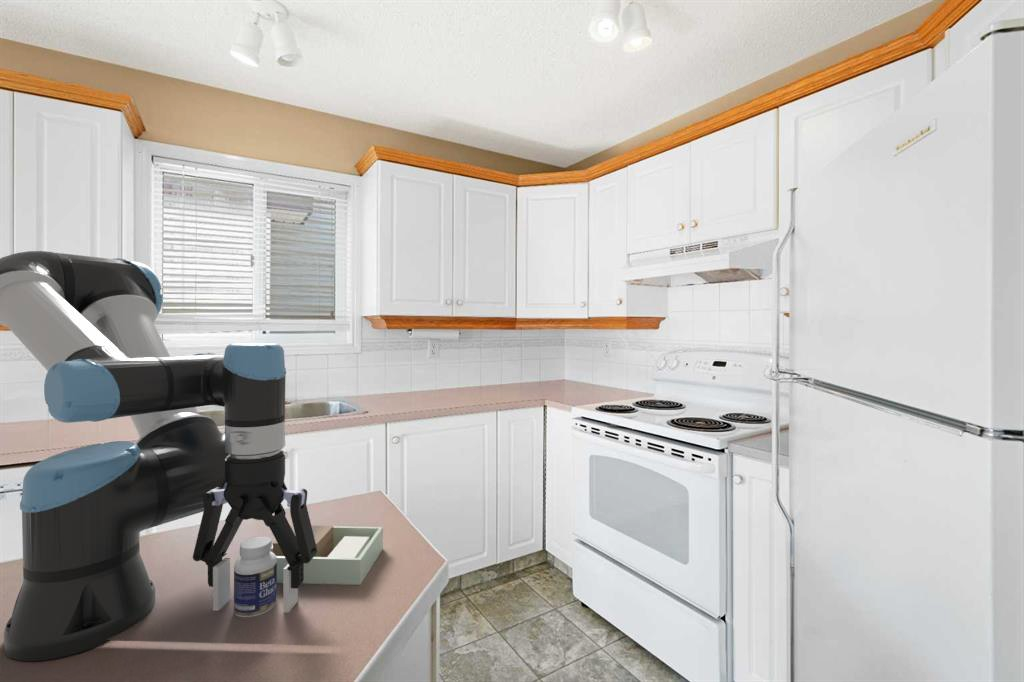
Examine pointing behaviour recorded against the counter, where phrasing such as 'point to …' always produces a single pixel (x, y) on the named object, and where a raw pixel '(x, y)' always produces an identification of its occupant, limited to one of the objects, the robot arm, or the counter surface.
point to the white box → (350, 547)
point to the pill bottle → (255, 578)
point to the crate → (340, 559)
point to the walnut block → (322, 541)
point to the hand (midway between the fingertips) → (256, 608)
